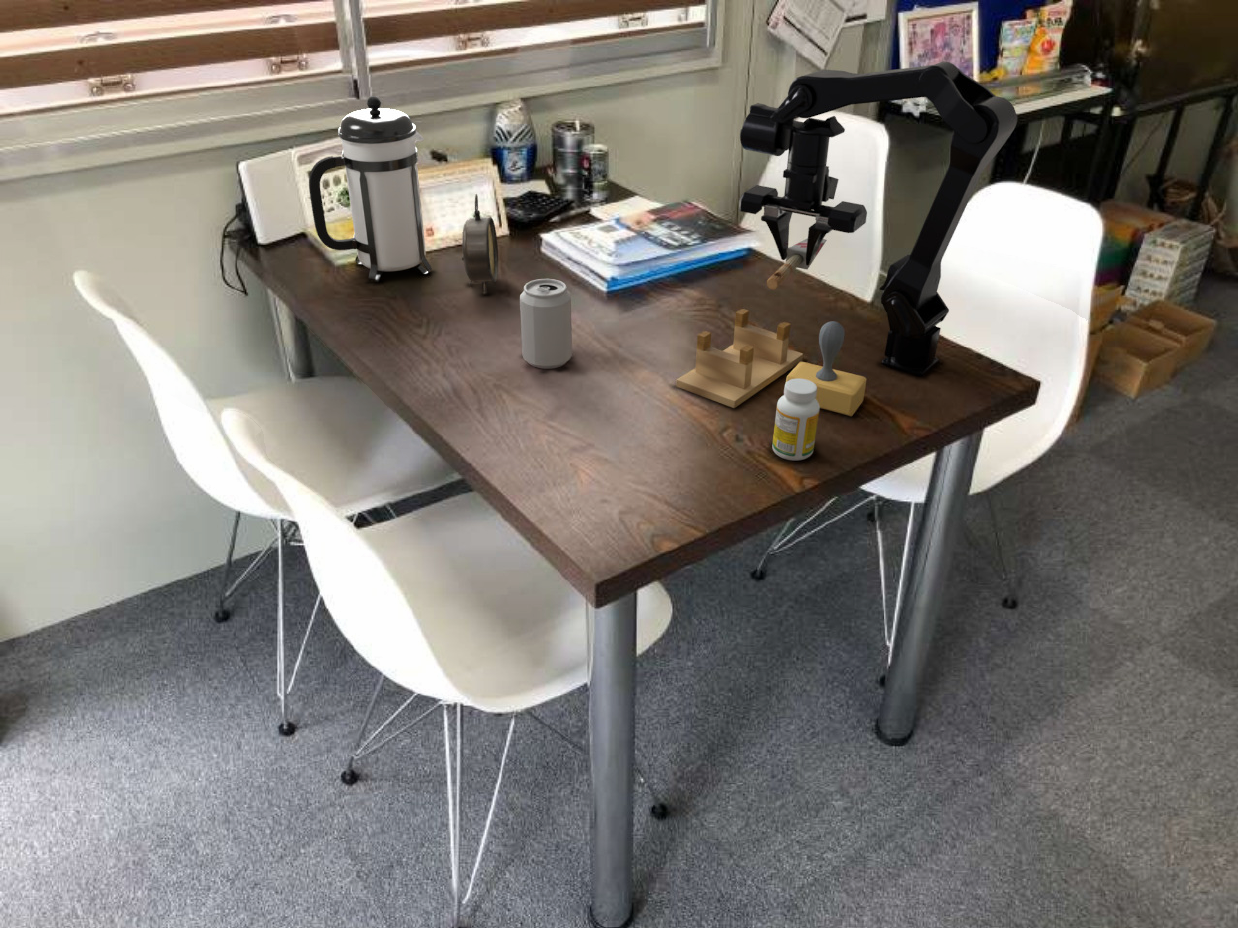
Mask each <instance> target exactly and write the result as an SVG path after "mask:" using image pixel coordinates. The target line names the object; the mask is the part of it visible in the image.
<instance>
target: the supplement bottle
mask: <svg viewBox="0 0 1238 928" xmlns="http://www.w3.org/2000/svg"><path fill="white" fill-rule="evenodd" d="M816 393H817V386H816V384H815V383H813V382H812V381H809V380H806V379H791V380H789V381H787V382H786V381H785V384H784V389H783V395H782V396H781V397H779V398H778V400H777V403H776V409H775V410H776V411H775V418H774V428H773V435H772V445H771V447H772V451H773V452H774V454H775V455H776V456H777V457H779V458H781V459H784V460H786V461H803V460H806V459H808V458H810V457H811V456H812V455H813V453H814V450H815V442H816V436H817V435H816V434H817V428H818V422H819V416H820V409H821V408H820V406H819V403H818V401H817V400H816V399H815V397H816Z"/></svg>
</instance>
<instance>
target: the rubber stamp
mask: <svg viewBox="0 0 1238 928" xmlns="http://www.w3.org/2000/svg"><path fill="white" fill-rule="evenodd" d="M845 335H846V334H845V327H843V325H842V324H840V322H837V321H834V320H833V321H828V322H826V323H824V324H823V325H822V326H821V328H820V331H819V334H818V344H819V348H820V352H821V356H822V361H823V362H822V363H823V364H822V365H823V366H821V365H817V364H814V363H809V362H805V361H801V362H799V363H798V364H797V365H796V366H794V367H793V368H792V370H791V371H790V372H789V373H788V375H787V376H786V379H785V383H786V382H787V381H789V380H791V379H806V380H809V381H812V382H813V383H815V384H816V386H817V393H816V397H815V399H816V400H817V401H818V403H819V406H820V409H821V410H825V411H829V412H833V413H837V414H840V415H844V416H848V417H853V415H854V414H855V413H856V412H857V410H858V409H859V407H860V406H861V404H862V403H863V402H864V398H865V392H866V385H867V378H866V377H865V376H863V375H860V374H854V373H852V372H851V373H850V372H847V371H844V370H843V371H842V370H838V369H834V368H833V364H834V361H835V359H836V357H837V356H838V354H839V353H840V351H841V350H842V347H843V345H844V341H845Z"/></svg>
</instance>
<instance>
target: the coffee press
mask: <svg viewBox="0 0 1238 928" xmlns="http://www.w3.org/2000/svg"><path fill="white" fill-rule="evenodd" d="M366 101H367V102H366V105H367V107H368V108H366V109H365V108H364V109H361V110H356V111H353V112H351V113H349V114H347V115H346V116H345V117H344V118H343V119H342V120H341V123H340V127H339V128H338V129H337V135H338V137H339V139H340V141H341V146H342V153H341V156H333V155H331V156H327V157H324V158H322V159H320V160H318V161H317V162H316V163H315V164H314V165H313V167H312V168H311V170H310V173H309V177H308V191H309V199H310V204H311V211H312V217H313V218H312V219H313V223H314V228H315V231H316V234H317V236H318V238H319V240H320V241H321V243H322V244H323V245H324V246H325V247H326V248H329V249H331V250H335V251H350V250H356V252H357V255H356V257H355V258H354V261H355V263H356V264H357V265H358V266H362V265H363V266H364V267H366V268H368V269H370V270H369V273H368V281H369V282H370V283H377V284H378V283H379V282H380V281H381V277H382V275H383V273H384V272H398V271H404V270H409V269H411V268H417V269H418V271H419V272H420V273H421V274H423V275H428V274H430V273H431V272H432V270H433V268H432V265H431V264H430V262H429V261H428V259H427V258H426V242H425V241H426V240H425V230H424V221H423V220H424V219H423V210H422V199H421V190H420V179H419V170H418V169H419V168H418V161H419V156H418V148H417V147H416V143H417V142H423V141H425V138H424V137H423V136H422V134H421V133H419V132H418V131H417V127H416V126H417V125H415V124H414V123H413V122H412V119H411V118H410V117H409V116H408V115H407V114H406V113H404V112H402V111H400V110H396V109H392V108H391V109H390V108H383V107H382V108H381V105H382V101H381V99H380V98H379V97H377V96H374V95H372V96H369V98H368V99H367V100H366ZM337 167H344V168H345V174H346V182H347V189H348V197H349V203H350V210H351V218H352V225H353V231H354V232H353V233H354V234H353V237H351V238H346V239H336V238H333V237H332V236H331V235H330V234H329V232H328V230H327V229H328V228H327V224H326V218H325V210H324V204H323V198H322V191H321V179H322V177H323V175H324V174H325V172H327V171H329V170H331V169H336V168H337ZM421 263H422V264H423V265H424V266H423V265H422V264H421Z"/></svg>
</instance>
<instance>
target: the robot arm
mask: <svg viewBox="0 0 1238 928" xmlns="http://www.w3.org/2000/svg"><path fill="white" fill-rule="evenodd" d="M920 98H926V99H927V100H928V101H930V103H932V105H933V106H934V108H935V110H936V111H937V113H938V115H939V116H940V118H941V119H942V121H943V122H944V123H945V124H946V125H947V126H948V127H950V128H951V130H952V135H951V139H950V143H949V163H948V167H947V169H946V172H945V174H944V176H943V178H942V181H941V183H940V185H939V188H938V190H937V192H936V195H935V197H934V199H933V202H932V204H931V206H930V209H929V211H928V213H927V215H926V217H925V220H924V222H923V224H922V227H921V229H920V231H919V234H918V236H917V238H916V241H915V242H914V245H913V247H912V250H911V252H910V253H907V254H906V255H904V256H903V257H901V258H899V259H898V260H897V261H895V262H893V263H892V264H890V265H889V267H888V269H887V274H886V278H885V281H884V282H883V284H882V285H881V286H880V287H879V289H878V290H879V291H882V293H881V296H880V303H881V305H882V307H883V310H884V311H885V312H886V318H887V322H888V327H889V330H888V332H887V337H886V341H885V342H886V343H885V348H884V357H885V358H883V359H882V360H881V365H883V366H886V367H889V368H892V369H896V370H898V371H902V372H905V373H908V374H911V375H914V376H918V377H922V376H924V375H925V374H926V373H927V372H929V370H930V369H932V368H933V367H934V366H936V364H938V363H939V358H938V357H936V354H937V350H938V349H937V348H938V345H939V339H940V334H941V330H942V327H939V326H937V325H938V324H939V323H942V322H943V321H944V320H945V318H946V317H947V315H948V314H949V312H950V309H949V307H948V306H947V305H946V303H945V301H944V299H943V298H942V297H941V295H940V294H939V292H938V289H939V285H940V282H941V277H942V260H943V258H944V256H945V253H946V251H947V249H948V247H949V245H950V243H951V240H952V238H953V237H954V234H955V233H956V230H957V228H958V225H959V223H960V221H961V219H962V218H963V217H962V216H963V215H964V212H965V210H966V207H967V206H968V203H969V201H970V199H971V198H972V195H973V193H974V190H975V189H976V186H977V184H978V182H979V180H980V178H981V175H982V173H983V171H984V170H985V169H986V167H987V166H988V165H989V164H990V163H991V161H992V160H993V159H994V158H995V156H997V154H998V153H999V151H1000V150H1001V149H1002V148H1003V146H1004V145H1005V143H1006V142H1007V141H1008V139H1009V138H1010V136H1011V134H1012V133H1013V131H1014V130H1015V128H1016V125H1017V122H1018V114H1017V112H1016V108H1015V107H1014V105H1013V104H1012V102H1011V101H1010V100H1008V99H1006V98H1005V97H1002V96H998V95H997V96H996V95H995V94H994V93H993V92H992V91H991V90H990V89H989V88H988V87H987V86H985V85H983V84H981V83H980V82H979V81H976V80H975V79H973V78H972V77H970V76H968V75H966V74H965V73H964V72H963V71H962V70H961V69H960V68H959V67H957V66H956V65H955V64H954V63H952V62H950V61H941V62H938V63H935V64H929V65H922V66H913V67H905V68H898V69H888V70H881V71H873V72H864V73H854V72H850V71H845V70H837V69H820V70H817V71H814V72H811V73H808V74H804V75H801V76H798V77H796V78H794V79H793V80H792V83H791V84H790V85H789V88H788V91H787V96H786V97H785V99H784V100H783V101H782V102H781V103H780V104H779V106H778V107H774V106H770V105H766V104H764V103H759V102H757V103H754V104H751V105H750V106H749V113H748V115H747V116H746V117H745V119H744V121H743V123H742V127H741V129H740V132H739V142H740V145H741V147H742V148H743V149H744V150H745V151H751V152H756V153H760V154H765V155H770V156H773V157H774V156H775V157H781V156H782V155H783V154H785V152H786V151H788V153H787V162H786V163H787V164H786V169H783V171H782V178H784V179H785V184H784V194H783V196H779V192H778V189H777V188H776V187H769V186H764V185H759V184H756V185H754V186H753V187H751V188H749V189H747V190H746V191H744V192H743V193H742V194H741V195H740V197H739V201H738V210H739V212H742V213H746V214H752V215H756V214H757V215H758V213H760V212H761V211H762V210H763V215H762V216H761V217H760V220H761V222H765V223H766V226H767V227H768V229H769V231H770V234H771V236H772V237H773V240H774V243H775V246H776V248H777V251H778V254H779V256H780V259H781V260H782V261H786V258H787V248H789V240H790V223H791V219H792V216H793V214H797V215H803V216H806V217H807V216H809V217H811V218H812V217H814V218H815V222H814V223H813V224H812V225H810V226H809V227H808V233H807V238H808V241H807V250H806V265H808V266H809V265H810V264H811V265H812V263H813V262H812V260H813V258H814V256H815V254H816V252H817V250H818V248H819V246H820V244H821V242H822V240H823V239H824V238H825V237H826V236H827V234H829V233H831V231H835V232H841V233H846V234H854V233H855V232H856V231H857V230H859V229H860V228H862V227H863V226H864V225H866V224H867V216H868V211H867V209H866V206H865V205H864V204H860V203H855V202H850V201H846V200H845V201H844V200H841V202H839V203H838V204H837V205H835V206H829V205H826V204H825V205H824V204H823V202H824V203H827V202H828V201H829V200H834V199H835V196H836V190H837V188H838V184H839V181H840V180H839V178H837V177H833V176H830V175H829V174H830V169H829V168H830V166H828V165H827V164H828V163H827V162H828V154H829V145H830V138H835V137H836V136H837V137H838V136H839V135H843V134H844V133H845V132H846V128H845V127H844V126H843V125H842V124H841V123H840V122H839V121H838V119H837V116H836V115H831V116H829V117H827V118H826V119H820V118H813V117H817V116H820V115H824V114H827V113H830V112H832V111H836V110H839V109H842V108H845V107H848V106H853V105H860V104H862V105H863V104H871V103H880V102H890V101H900V100H909V99H910V100H911V99H920ZM796 119H805V120H804V121H799V120H796ZM813 261H814V260H813ZM811 262H812V263H811ZM811 265H810V266H811ZM810 266H809V267H810Z"/></svg>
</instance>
